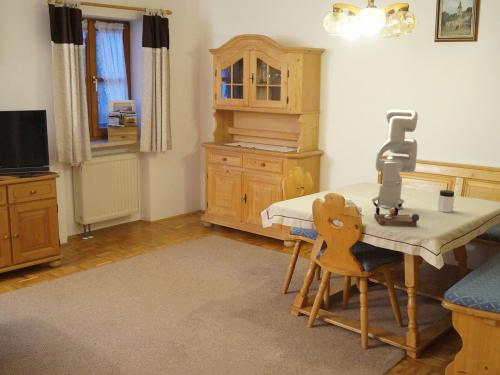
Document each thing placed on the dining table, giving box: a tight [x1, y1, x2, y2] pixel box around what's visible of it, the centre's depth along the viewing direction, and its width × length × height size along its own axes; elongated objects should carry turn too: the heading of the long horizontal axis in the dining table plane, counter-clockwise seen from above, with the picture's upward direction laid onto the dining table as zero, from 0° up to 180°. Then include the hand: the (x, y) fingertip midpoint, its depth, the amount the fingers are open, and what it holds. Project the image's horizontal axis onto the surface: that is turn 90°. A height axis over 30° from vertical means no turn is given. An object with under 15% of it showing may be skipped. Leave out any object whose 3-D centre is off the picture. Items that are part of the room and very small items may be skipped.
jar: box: [437, 189, 455, 213], centre depth 337 cm, size 9×8×12 cm
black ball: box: [411, 213, 420, 222], centre depth 299 cm, size 4×4×4 cm
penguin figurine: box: [344, 197, 363, 213], centre depth 322 cm, size 6×8×12 cm
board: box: [373, 213, 418, 228], centre depth 306 cm, size 16×19×2 cm
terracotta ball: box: [389, 208, 395, 215], centre depth 312 cm, size 4×4×4 cm
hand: (386, 215), depth 305 cm, fingers open, 9 cm apart
